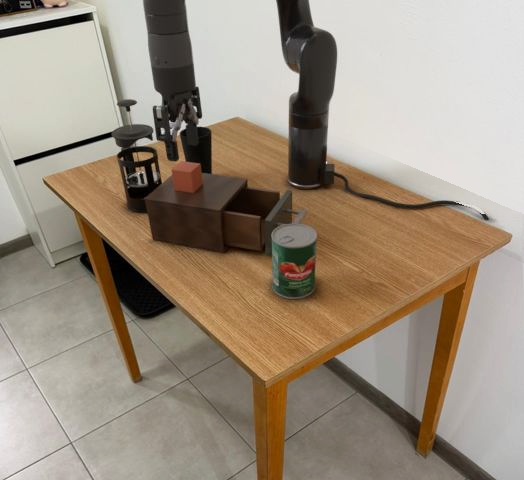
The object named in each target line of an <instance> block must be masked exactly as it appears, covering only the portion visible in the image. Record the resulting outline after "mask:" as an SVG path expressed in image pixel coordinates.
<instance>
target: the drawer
mask: <svg viewBox="0 0 524 480" xmlns="http://www.w3.org/2000/svg"><path fill="white" fill-rule="evenodd" d="M293 215H296V216H295V218H294V219H293ZM306 215H308V211H307V209H305V208H301V209H300V210H297V209H293V190H291V189H287V190H286V191H285V192H284V193H283V195H282V196H281V191H280V190H273V189H266V188H259V187H253V186H252V187H251V186H248V187H245V186H244V187H243V188H242V190H241V191H240V192H239V193H238V194H237V195H236V196H235V197H234V199H233V200H232V201H231V202H230V203H229V204H228V205H227V207H226V208H225V209H224V210H223V211H222V223H223V234H224V245H229V247H230V246H231V247H237V248H241V249H247V250H252V251H258V252H261V251H262V250H263V249H264V247H265V256H266V257H267V256H268V257H272V237H271V235H272V232H273V230H275V229H276V228H277V227H279V226H282V225H285V224H302V222H303V221H304V219H305V218H306Z"/></svg>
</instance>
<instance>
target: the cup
mask: <svg viewBox="0 0 524 480" xmlns="http://www.w3.org/2000/svg"><path fill="white" fill-rule="evenodd" d="M197 132H198V141H199V143H198V144H197V145H196V146H195V145H189V144H188V143H187V135H186V128H183V129H182V130H181V131H180V132H179V138H180V142H181V146H182V151H183V156H184V161H185V162H192V163H199V164H201V173H207V174H213V159H212V158H213V157H212V156H213V154H212V152H213V151H212V150H213V149H212V147H213V145H212V144H213V143H212V138H213V137H212V130H211V129H210V128H209V127H205V126H197Z"/></svg>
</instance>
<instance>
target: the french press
mask: <svg viewBox="0 0 524 480" xmlns="http://www.w3.org/2000/svg"><path fill="white" fill-rule="evenodd" d="M137 104H138V101H137V100H135V99H132V98H131V99H130V98H129V99H121V100H120V101H117V103H116V106H118V107H121V108H125V112H127V115H128V119H129V124H126V125H122V126H119V127H117V128H115V129H113V130H112V131H111V136H112V138H113V139H114V141H115V144H116V146H117V147H119V148H120V151H119V152H118V153H117V154H116V159H117V163H118V168H119V171H120V175H121V180H122V184H123V188H124V195H125V199H126V207H127V209H128V210H129V211H131V212H133V213H137V214H148V213H147V208H146V203H145V197H147V196H148V195H149V194H150V193H152V192H153V191H154V190H155V189H156V188H157V187H159V186H160V185H161V184H162V183H163V181H162V175H161V169H160V164H159V155H158V150H157V149H156V148H155V147H152V146H146V145H138V146H137V142H138V141H139V140H142V139H148V140H149V141H151V142H152V141H154V137H153V133H154V131H155V130H154V128H153V126H151V125H149V124H142V123H132V118H131V117H132V116H131V110H132V109H131V107H132V106H135V105H137ZM139 153H148V154H149V153H150V154H152V156H151V157H150V158H147V159H144V160H140V158H139ZM134 154H136V159H137V161H135V158H134ZM153 164H154V168H155V171H154V170H153V166H152V165H153ZM138 168H139V169H138ZM142 168H144V169H143V170H142ZM137 169H138V170H137Z"/></svg>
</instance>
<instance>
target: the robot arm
mask: <svg viewBox="0 0 524 480" xmlns="http://www.w3.org/2000/svg"><path fill="white" fill-rule="evenodd" d="M275 1H276V2H275V3H276V8H277V16H278V27H279V34H280V46H281V53H282V57H283V60H284V62H285V63H284V64H285V65H286V66H287V67H288V69H289V70H291V71H292V72H293V73H295V74H298V89H297V91H295V92H293V93H292V94H291V95H290V96H289V98H288V142H287V143H288V144H287V145H288V152H287V153H288V157H287V158H288V159H287V160H288V163H287V164H288V165H287V167H288V169H287V170H288V171H287V183H288V184H289V185H290V186H291V187H293V188H296V189H300V190H313V189H318V188H320V187H326V184H334V183H335V177H336V178H339V179H340V180H343V182H344V188H345V190H346V191H347V192H348V193H350V194H352V195H354V196H357V197H359V198H363V199H370V200H373V201H378V202H380V203H383V204H387V205H389V206H393V207H397V208H402V209H403V208H405V209H422V208H428V207H432V206H437V205H451V206H459V207H464V208H465V207H466V208H470V207H467V206H464V205H462V204H459V203H456V202H457V201H456V202H454V201H455V200H435V201H430V202H429V201H428V202H425V203H420V204H418V203H417V204H410V203H402V202H401V203H400V202H396V201H394V200H393V201H392V200H388V199H386V198H382V197H379V196H376V195H373V194H367V193H360V192H356V191H354V190H353V189H352V188H351V187H350V186H349V180H348V178H347V177H346V176H345V175H343V174H340V173H338V172H336V169H335V168H336V167H335V163H328V161H327V157H328V137H329V136H328V133H329V116H330V103H331V100H332V98H333V96H334V92H335V85H336V75H337V74H336V73H337V65H338V45H337V40H336V38H335V37H334V35H333V34H332V33H331V32H330V31H328V30H325V29H322V28H319V27H316V26H315V25H314V21H313V17H312V12H311V5H310V0H275ZM142 6H143V13H144V19H145V27H146V31H147V33H146V34H147V48H148V55H149V63H150V69H151V76H152V80H153V82H152V83H153V88H154V90H155V91H156V92H157V93H159V94H160V96H161V104H160V105H152V115H153V116H152V117H153V122H154V124H153V125H154V131H155V139H156V141H158V142H163V143H164V146H165V148H164V149H165V153H166V159H167V161H169V162H174V163H176V162H178V161H179V160H180V154H179V147H178V141H177V138H178V133H179V132H178V131H180V130H181V128H182V123H183V122H184V124H186V125H185V129H186V135H187V143H188V144H189V145H195V146H196V145H197V144H198V143H199V141H198V132H197V127H198V125H199V123H200V121H199V120H201V119H202V118H203V109H202V102H201V101H202V100H201V96H200V95H201V94H200V88H199V86H197V83H196V74H195V73H196V72H195V64H194V62H195V61H194V53H193V46H192V39H191V36H190V30H189V20H188V19H189V18H188V11H187V10H188V9H187V3H186V0H142ZM195 108H196V109H195ZM470 209H471V208H470ZM476 212H477V213H479V212H478V211H476ZM479 215H481V217H482V218H483V219H484V220H485V221H489V220H490V219H489V217H488V214H487V213H485V214H481V213H479Z"/></svg>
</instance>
